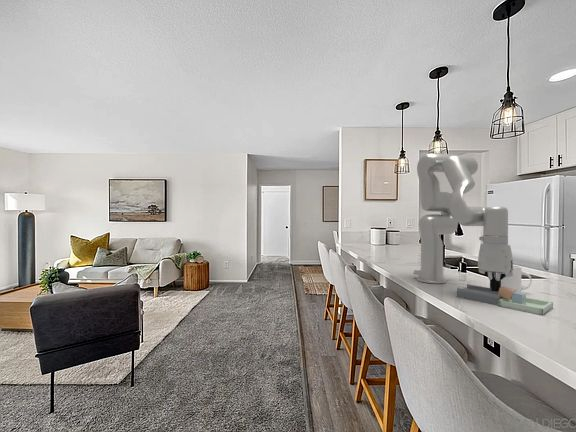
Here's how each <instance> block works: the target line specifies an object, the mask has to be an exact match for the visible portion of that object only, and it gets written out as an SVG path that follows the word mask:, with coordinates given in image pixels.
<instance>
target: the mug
mask: <svg viewBox="0 0 576 432" xmlns="http://www.w3.org/2000/svg"><path fill="white" fill-rule="evenodd" d="M512 272H513V276H511V277H505V278H503V279H502V280H501V287H503V286H505V287H508V288H511V289H515V290H516V291H518V292H522V291H523V290H524V291H525V290H527V289H529V288H530V287H531V285H532V276H531V275H530V273H528V272H527V271H525V270H523V269H522V266H520V265H515V264H513V271H512ZM503 274H504V273H503ZM496 275H497V272H495V276H496ZM523 275H524V276H526V277H528V278H529V284H528V285H527V284H526V285H523V284H522V276H523Z"/></svg>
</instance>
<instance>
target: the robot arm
mask: <svg viewBox="0 0 576 432" xmlns="http://www.w3.org/2000/svg"><path fill="white" fill-rule="evenodd" d="M478 168H479V164H478V161H477V159H476V158H474V157H473V156H470V155H462V154H461V155H459V154H454V153H453V154H452V153H439V152H438V153H435V152H433V153H432V152H431V153H425V154H424V155H422V156H420V158H419V160H418V161H417V166H416V172H417V178H418V180H419V188H420V190H419V191H420V193H419V194H420V203H421V208H422V210H423V211H424V212H429V213H430V212H434V214H433V213H431V214H425V215H423V216H421V217H420V218H419V220H418V229H419V234H420V235H419V236H420V270H417V269H414V270H413V275H415V276H416V275H418V276H417V277H416V279H417V281H418V282H421V283H427V284H435V285H436V284H437V285H439V284H440V285H441V284H442V285H443V284H445V283H447V279H446V278H444V277H443V274H444V272H443V271H444V269H443V268H444V244H443V243H444V242H443V240H442V238H441V237H440V235H452V234H454V233H455V232H456V231H457V229H458V227H459V226H458V225H460V226H464V227H483V229H482V230H483V235H482V236H479V237H478V239H479V241H482V243H480V245H479V249H478V259H477V269H478V272H479V273H480V274H483V275H486V276H485V277H487V278H488V280H489V288H491V291H495V292H497V291H499V288H500V287H501V280H502V279H503V278H505V277H511V276H513V272H512V271H513V265H514V261H513V260H514V259H513V253H512V248H511V245H510V244H509V210H508V208H507V207H504V206H487V207H486V206H468V205H467V203H466V201H465V198H464V195H465V194H467V193H468V192H470V191H472V190H473V188H474V187H475V186H476V181H475V180H474V178H473V175H475V174H476V172H477V171H478ZM435 173H444V175H445V177H446V179H447V182H448V183H449V185H450V187H451V190H452V193H451V192H448V191H441V188H440V181H439V178H438V177H437V175H436V174H435ZM435 212H437V213H439V212H440V213H439V214H437V213H435ZM496 272H497V275H496V274H495V273H496ZM503 273H504V274H503Z"/></svg>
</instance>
